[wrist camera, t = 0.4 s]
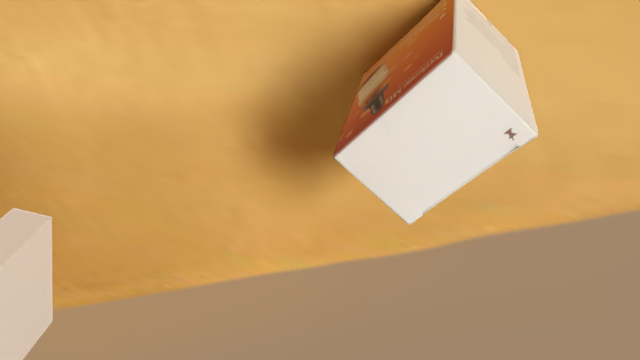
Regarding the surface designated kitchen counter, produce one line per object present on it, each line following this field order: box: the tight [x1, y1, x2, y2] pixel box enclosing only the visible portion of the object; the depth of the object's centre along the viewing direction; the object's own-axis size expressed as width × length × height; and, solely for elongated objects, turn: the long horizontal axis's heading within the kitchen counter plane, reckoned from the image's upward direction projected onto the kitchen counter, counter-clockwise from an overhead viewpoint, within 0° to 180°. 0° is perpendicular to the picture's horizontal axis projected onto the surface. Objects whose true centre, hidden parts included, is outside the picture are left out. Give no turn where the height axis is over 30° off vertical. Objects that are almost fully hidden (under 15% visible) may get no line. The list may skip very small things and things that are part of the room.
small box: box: [333, 0, 538, 224], centre depth 29 cm, size 8×6×10 cm
